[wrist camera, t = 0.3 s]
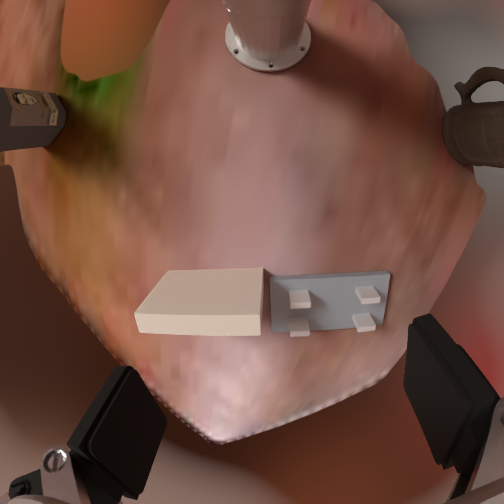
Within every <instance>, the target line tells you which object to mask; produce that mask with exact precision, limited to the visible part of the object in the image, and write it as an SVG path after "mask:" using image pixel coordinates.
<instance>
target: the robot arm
mask: <svg viewBox="0 0 504 504" xmlns="http://www.w3.org/2000/svg"><path fill="white" fill-rule="evenodd" d="M222 1H223V4H224V7H225V9H226V12H227V15H228V18H229V21H230V22H229V23H228V25H227V28H226V31H225V40H226V45H227V47H228V50H229V51H230V53H231V55H232V56H233V57H234V58H235V59H236V60H237V61H238V62H239V63H241V64H242V65H244V66H246V67H248V68H251V69H254V70H257V71H264V72H275V71H281V70H284V69H287V68H290V67H292V66H294V65H296V64H297V63H298V62H299V61H301V60H302V59H303V57H304V56H305V55H306V53H307V51H308V49H309V47H310V44H311V32H310V29H309V26H308V24H307V22H306V21H305V20H306V17H307V13H308V9H309V5H310V2H311V0H222ZM301 49H302V50H304V51H301ZM236 52H238V54H235V53H236ZM269 66H273V67H272V68H270V67H269ZM404 389H405V392H406V394H407V396H408V398H409V401H410V403H411V405H412V407H413V409H414V412H415V414H416V416H417V418H418V421H419V423H420V425H421V428H422V430H423V432H424V435H425V437H426V440H427V442H428V445H429V447H430V449H431V452H432V455H433V457H434V460H435V462H436V463H437V464H438V465H439V464H442V467H443V469H444V470H445V469H447V468H450V467H452V466H455V468H456V471H457V473H458V475H457V478H456V480H455V483H454V485H453V487H452V489H451V492H450V494H449V496H448V498H447V500H446V502H445V503H443V504H504V397H502V398H500V397H499V395H498V394H497V392H496V391H495V390H494V388H493V387H492V386H491V384H490V383H489V381H488V380H487V379H486V377H485V376H484V375H483V373H482V372H481V371H480V369H479V368H478V367H477V365H476V364H475V363H474V361H473V360H472V359H471V358H470V356H469V355H468V354H467V353H466V352H465V350H464V349H463V348H462V347H461V346H460V345H458V344H456V343H455V342H454V341H453V339H452V338H451V337H450V336H449V334H448V333H447V332H446V331H445V330H444V328H443V327H442V326H441V325H440V324H439V323H438V321H437V320H436V319H435V318H434V317H433V316H432V315H431V314H426V315H423V316H420V317H416V318H414V319H413V323H412V324H410V325H409V327H408V342H407V355H406V366H405V374H404ZM166 425H167V419H166V417H165V415H164V413H163V412H162V410H161V409H160V407H159V406H158V404H157V403H156V401H155V400H154V398H153V396H152V395H151V393H150V392H149V390H148V388H147V387H146V385H145V383H144V382H143V380H142V378H141V377H140V375H139V373H138V372H137V371H136V370H134V368H133V367H131V366H117V367H115V369H114V370H113V371H112V373H111V374H110V376H109V377H108V379H107V380H106V382H105V383H104V385H103V386H102V388H101V390H100V391H99V393H98V394H97V396H96V397H95V399H94V400H93V402H92V404H91V405H90V407H89V408H88V410H87V411H86V413H85V415H84V416H83V418H82V419H81V421H80V423H79V424H78V426H77V427H76V429H75V431H74V432H73V434H72V436H71V437H70V439H69V441H68V442H67V445H68V447H69V448H71V451H70V452H69V451H68V450H67V449H66V448H64V447H53V448H51V449H49V450H48V451H47V452H46V453H45V454H44V455H43V457H42V459H41V462H40V469H38V470H36V471H34V472H31V473H29V474H26V475H23V476H21V477H19V478H17V479H15V480H14V481H12V482H11V484H10V488H9V493H8V492H7V493H5V494H4V495H3V496H1V497H0V504H123V503H122V500H121V497H122V495H123V496H125V497H127V498H131V499H135V500H137V499H138V496H139V494H141V493H142V492H143V490H144V487H145V485H146V481H147V479H148V476H149V473H150V470H151V467H152V464H153V462H154V459H155V456H156V453H157V450H158V448H159V445H160V442H161V439H162V437H163V433H164V431H165V428H166Z"/></svg>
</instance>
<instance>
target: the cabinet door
mask: <svg viewBox="0 0 504 504" xmlns="http://www.w3.org/2000/svg"><path fill="white" fill-rule="evenodd" d="M263 293H264V276H263V268H244V269H212V270H173V271H167V272H166V273H165V275H164V276H163V277H162V278H161V280H160V281H159V282H158V283H157V285H156V286H155V287H154V288H153V290H152V291H151V292H150V293H149V295H148V296H147V297H146V298H145V300H144V301H143V302H142V304H141V305H140V306H139V307H138V309H137V310H136V311H135V313H134V315H135V319H136V322H137V325H138V329H139V332H141V333H156V334H176V335H207V336H259V335H261V325H262V309H263Z"/></svg>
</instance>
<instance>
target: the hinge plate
mask: <svg viewBox="0 0 504 504" xmlns="http://www.w3.org/2000/svg"><path fill="white" fill-rule="evenodd" d="M389 280H390V273H389V272H388V271H371V272H354V273H335V274H315V275H292V276H270V300H271V326H272V333H274V332H290V337H297V336H309V334H310V331H317V330H332V329H345V328H356V329H357V331H358V332H364V331H374V330H375V328H376V325H382V323H383V318H384V312H385V307H386V300H387V294H388V287H389Z"/></svg>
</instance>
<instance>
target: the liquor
mask: <svg viewBox="0 0 504 504" xmlns="http://www.w3.org/2000/svg"><path fill="white" fill-rule="evenodd" d="M65 118H66V111H65V109H64V108H63V106H62V104H61V102H60V101H59V99H58V97H57V96H56V94H54V93H47V92H40V91H32V90H24V89H14V88H2V87H0V152H1V151H9V150H17V149H25V148H35V147H46V146H49V145H50V144H51V142H52V141H53V140H54V138H55V137H56V136H57V134H58V133H59V132H60V131H61V129H62V128H63V127H64V125H65Z"/></svg>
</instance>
